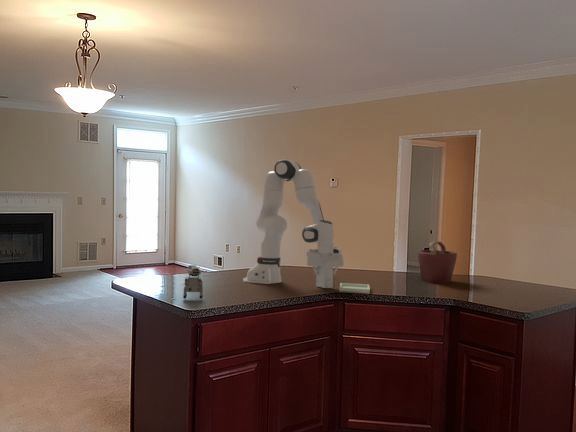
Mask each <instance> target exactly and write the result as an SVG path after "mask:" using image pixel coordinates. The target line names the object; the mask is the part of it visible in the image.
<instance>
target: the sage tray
mask: <svg viewBox="0 0 576 432" xmlns="http://www.w3.org/2000/svg"><path fill="white" fill-rule="evenodd" d="M338 290H339V293H349V294H350V293H351V294H352V293H354V294H368V295H369V294H371V288H370V284H368V283H367V284H365V283H347V282H346V283H345V282H340V283H339V289H338Z"/></svg>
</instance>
